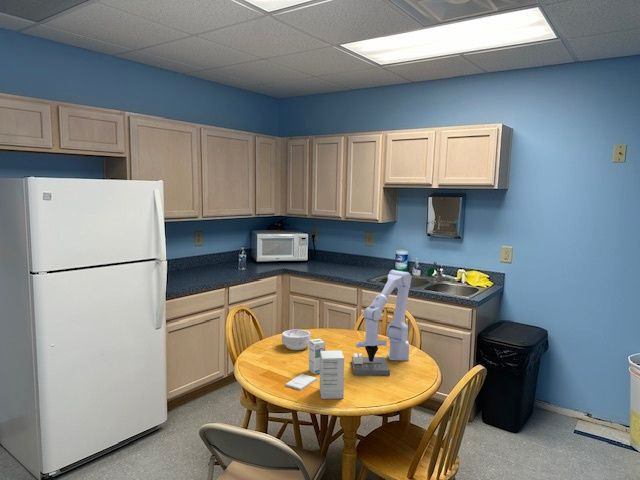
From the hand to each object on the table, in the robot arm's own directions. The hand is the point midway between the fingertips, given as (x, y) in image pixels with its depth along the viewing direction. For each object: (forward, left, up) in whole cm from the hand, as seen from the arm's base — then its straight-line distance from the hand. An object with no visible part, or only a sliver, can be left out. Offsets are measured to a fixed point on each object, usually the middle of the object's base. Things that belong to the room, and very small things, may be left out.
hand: (370, 361), depth 208 cm
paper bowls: (+36, -27, -4) cm, 45 cm away
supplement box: (+19, +27, -4) cm, 34 cm away
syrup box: (+25, +4, -4) cm, 26 cm away
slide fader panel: (0, 0, -4) cm, 4 cm away
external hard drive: (+32, +17, -4) cm, 37 cm away
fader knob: (+6, 0, -1) cm, 6 cm away
